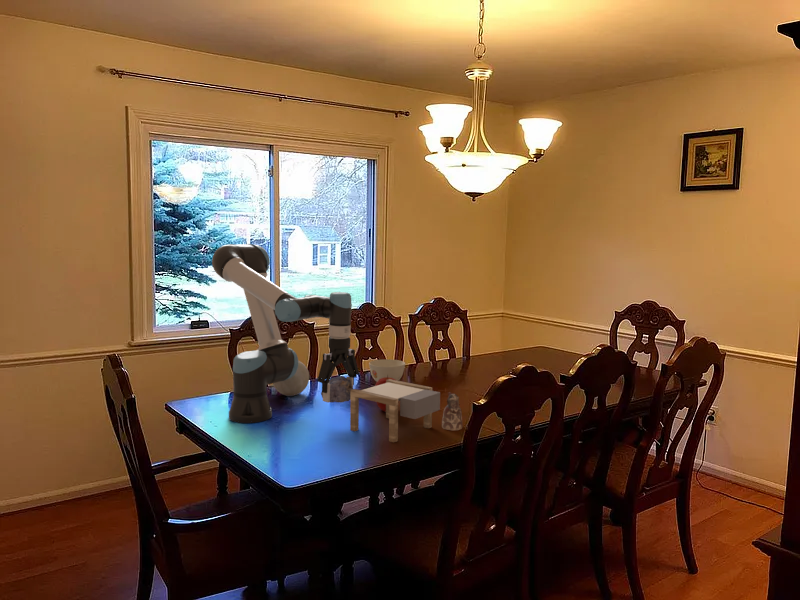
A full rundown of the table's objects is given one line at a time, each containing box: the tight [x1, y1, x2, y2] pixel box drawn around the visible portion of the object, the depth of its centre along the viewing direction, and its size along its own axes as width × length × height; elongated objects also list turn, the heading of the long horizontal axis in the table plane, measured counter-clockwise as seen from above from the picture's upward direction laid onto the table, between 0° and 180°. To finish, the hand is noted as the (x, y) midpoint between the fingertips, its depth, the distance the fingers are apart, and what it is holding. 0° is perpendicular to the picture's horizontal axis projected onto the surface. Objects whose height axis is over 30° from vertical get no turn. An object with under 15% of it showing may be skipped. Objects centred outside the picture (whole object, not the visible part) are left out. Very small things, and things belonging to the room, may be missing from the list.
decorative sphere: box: [272, 360, 310, 397], centre depth 255 cm, size 15×15×15 cm
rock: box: [320, 375, 354, 403], centre depth 218 cm, size 11×10×10 cm
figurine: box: [441, 391, 463, 432], centre depth 216 cm, size 7×7×12 cm
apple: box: [374, 375, 400, 413], centre depth 235 cm, size 10×10×14 cm
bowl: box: [368, 358, 406, 382], centre depth 274 cm, size 16×16×10 cm
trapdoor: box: [361, 382, 441, 420], centre depth 210 cm, size 16×23×6 cm
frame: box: [349, 379, 433, 443], centre depth 213 cm, size 21×19×14 cm
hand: (337, 398), depth 219 cm, fingers closed on rock, 11 cm apart
